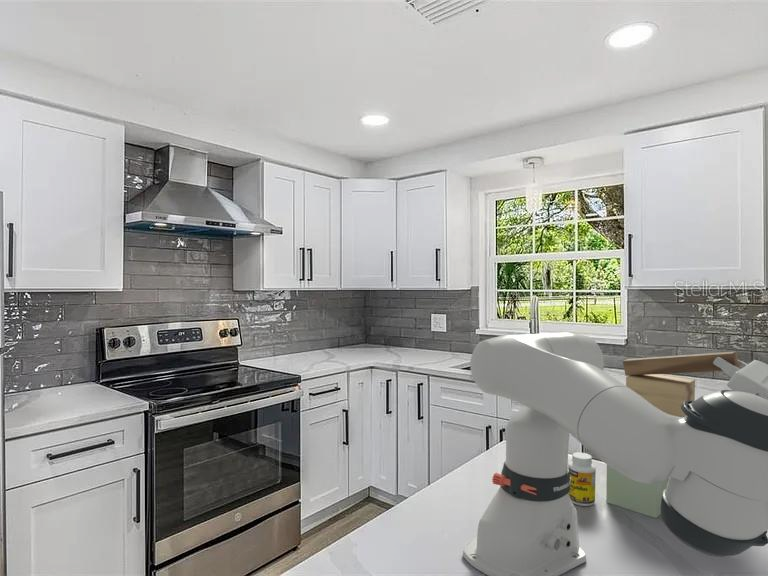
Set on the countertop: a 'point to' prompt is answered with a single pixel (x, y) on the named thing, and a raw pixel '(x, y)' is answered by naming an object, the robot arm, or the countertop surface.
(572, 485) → the supplement bottle
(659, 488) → the block
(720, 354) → the batten
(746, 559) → the countertop surface
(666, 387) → the stand
